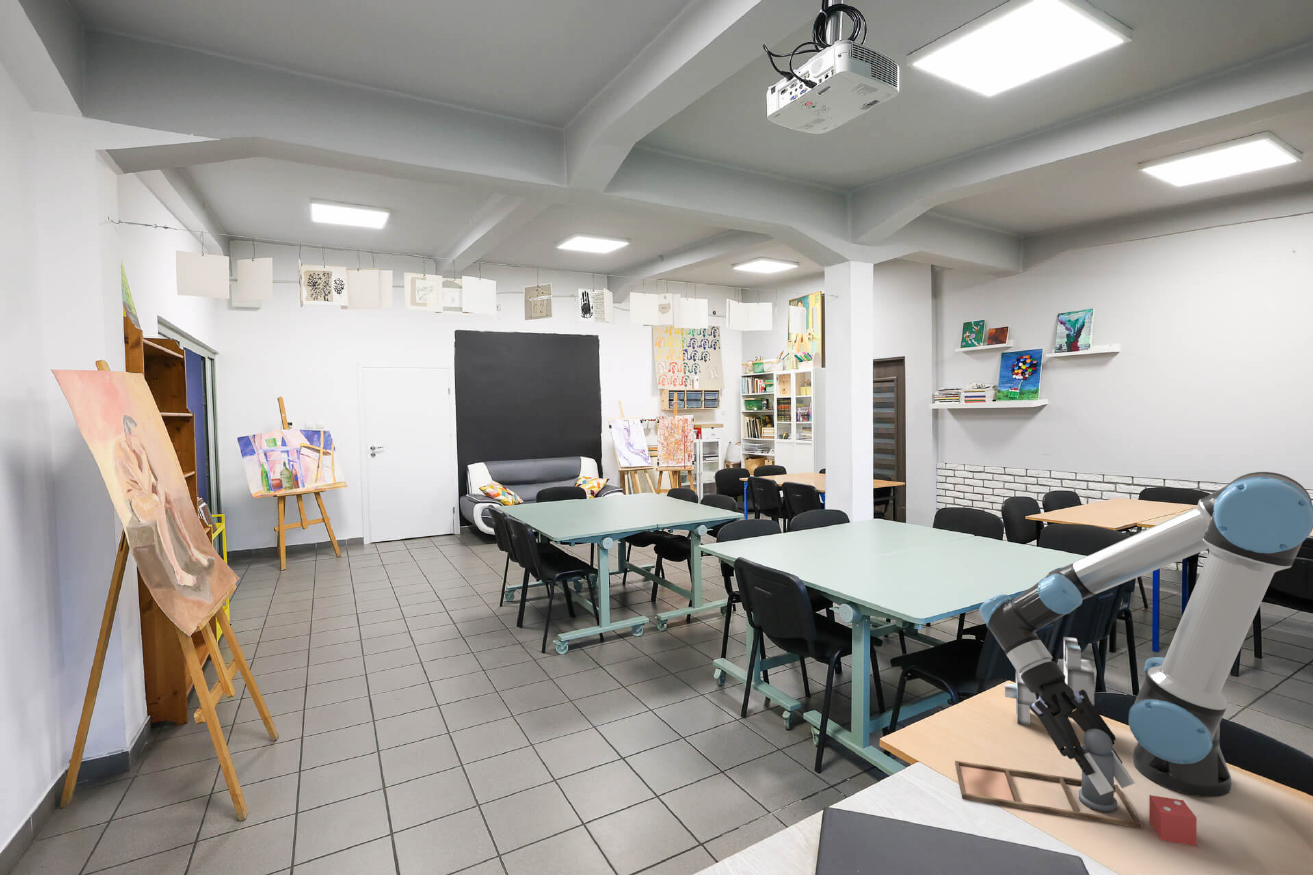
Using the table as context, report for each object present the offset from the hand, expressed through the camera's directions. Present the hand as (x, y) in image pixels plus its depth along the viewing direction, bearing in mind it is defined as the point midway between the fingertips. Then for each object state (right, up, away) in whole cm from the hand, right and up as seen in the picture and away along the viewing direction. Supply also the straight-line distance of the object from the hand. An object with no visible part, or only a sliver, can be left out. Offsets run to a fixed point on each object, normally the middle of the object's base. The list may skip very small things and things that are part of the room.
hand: (1117, 788), depth 114 cm
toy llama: (+8, -3, +33) cm, 35 cm away
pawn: (-1, -5, +4) cm, 6 cm away
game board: (-10, -5, +7) cm, 13 cm away
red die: (+6, -5, -5) cm, 9 cm away
